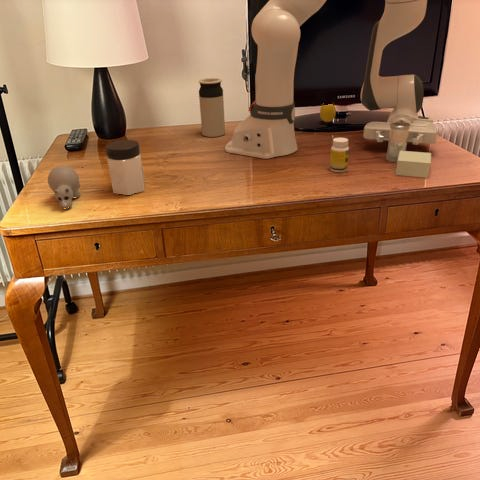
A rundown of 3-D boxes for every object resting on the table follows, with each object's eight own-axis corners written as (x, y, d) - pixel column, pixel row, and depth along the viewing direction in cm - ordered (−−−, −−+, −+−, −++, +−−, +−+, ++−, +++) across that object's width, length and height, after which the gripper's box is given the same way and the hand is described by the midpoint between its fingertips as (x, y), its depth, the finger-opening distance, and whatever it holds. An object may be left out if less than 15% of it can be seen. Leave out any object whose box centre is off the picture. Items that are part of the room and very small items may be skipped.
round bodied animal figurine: (52, 220, 111) (41, 196, 105) (54, 186, 119) (44, 161, 112) (83, 216, 112) (74, 192, 106) (83, 182, 120) (75, 157, 113)
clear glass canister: (385, 161, 130) (389, 126, 125) (386, 155, 134) (391, 121, 129) (404, 163, 128) (409, 127, 123) (405, 157, 133) (410, 122, 128)
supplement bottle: (347, 173, 124) (349, 142, 120) (329, 172, 125) (331, 142, 120) (347, 166, 128) (349, 137, 124) (330, 166, 129) (331, 136, 125)
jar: (105, 193, 118) (96, 148, 112) (123, 181, 124) (116, 138, 118) (135, 197, 115) (128, 151, 109) (152, 185, 121) (146, 141, 115)
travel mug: (228, 135, 157) (225, 80, 148) (206, 138, 155) (201, 83, 146) (220, 129, 164) (217, 76, 155) (199, 132, 161) (195, 79, 152)
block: (395, 174, 121) (397, 160, 119) (397, 164, 128) (399, 150, 126) (427, 177, 119) (430, 163, 117) (428, 167, 125) (431, 153, 123)
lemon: (317, 121, 168) (318, 99, 164) (332, 120, 168) (334, 98, 164) (321, 125, 163) (322, 103, 159) (337, 124, 163) (338, 102, 159)
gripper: (367, 114, 142) (360, 126, 130) (438, 118, 135) (438, 132, 124) (365, 134, 145) (358, 148, 134) (434, 139, 138) (434, 154, 127)
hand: (397, 140), depth 129 cm, fingers open, 8 cm apart
